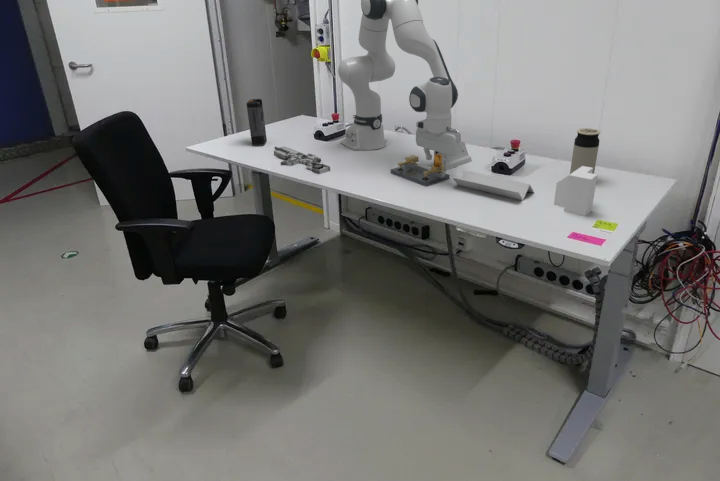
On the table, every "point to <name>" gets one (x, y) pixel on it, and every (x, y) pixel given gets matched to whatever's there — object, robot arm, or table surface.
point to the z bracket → (494, 185)
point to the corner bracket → (577, 191)
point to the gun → (300, 159)
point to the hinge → (456, 158)
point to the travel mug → (585, 149)
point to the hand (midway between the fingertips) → (437, 162)
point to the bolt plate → (418, 172)
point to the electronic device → (256, 122)
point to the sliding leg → (435, 165)
